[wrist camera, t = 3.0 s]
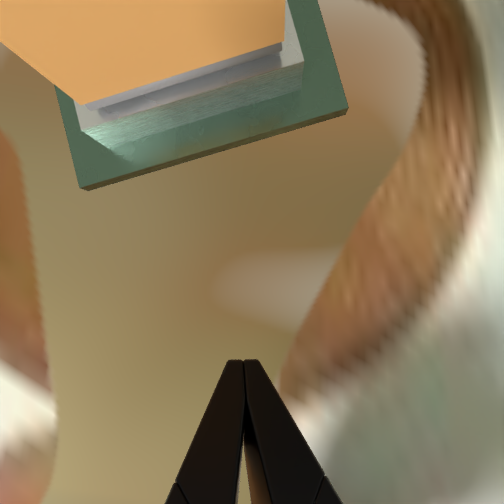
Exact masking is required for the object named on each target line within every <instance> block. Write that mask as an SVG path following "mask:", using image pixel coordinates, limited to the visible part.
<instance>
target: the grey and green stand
mask: <svg viewBox="0 0 504 504" xmlns="http://www.w3.org/2000/svg"><path fill="white" fill-rule="evenodd" d="M54 86H55V90H56V94H57V98H58V102H59V106H60V110H61V115H62V119H63V123H64V127H65V131H66V135H67V139H68V143H69V147H70V151H71V155H72V159H73V163H74V167H75V171H76V175H77V180H78V184H79V187H80V188H81V189H84V190H87V191H90V190H93V189H97V188H100V187H103V186H107V185H110V184H114V183H117V182H120V181H123V180H127V179H130V178H134V177H137V176H140V175H144V174H147V173H151V172H154V171H157V170H161V169H164V168H167V167H171V166H174V165H178V164H181V163H184V162H188V161H191V160H194V159H198V158H201V157H204V156H208V155H211V154H214V153H218V152H221V151H225V150H228V149H231V148H234V147H238V146H241V145H244V144H248V143H251V142H255V141H258V140H261V139H265V138H268V137H272V136H275V135H278V134H282V133H285V132H289V131H292V130H295V129H298V128H302V127H305V126H309V125H312V124H315V123H319V122H322V121H326V120H329V119H332V118H336V117H339V116H342V115H345V114H346V112H347V110H348V108H349V107H348V104H347V100H346V97H345V93H344V90H343V87H342V83H341V80H340V77H339V73H338V70H337V66H336V63H335V59H334V56H333V52H332V49H331V45H330V42H329V39H328V35H327V32H326V28H325V25H324V22H323V18H322V15H321V11H320V8H319V4H318V1H317V0H285V35H284V41H283V42H282V51H280V52H277V53H274V54H271V55H267V56H264V57H261V58H258V59H255V60H251V61H248V62H245V63H242V64H239V65H236V66H232V67H229V68H226V69H223V70H220V71H216V72H213V73H210V74H207V75H204V76H201V77H197V78H194V79H191V80H188V81H185V82H182V83H178V84H175V85H172V86H169V87H166V88H162V89H159V90H156V91H153V92H150V93H147V94H143V95H140V96H137V97H134V98H131V99H128V100H124V101H121V102H118V103H115V104H112V105H108V106H105V107H102V108H99V109H96V110H93V111H90V110H89V109H88V108H87V107H86V106H85V104H84V105H80V104H79V103H77V102H76V101H75V100H73V99H72V98H71V97H70V96H68V95H67V94H66V93H65V92H63V91H62V90H61V89H60V88H58V87H57V86H56V85H55V84H54Z"/></svg>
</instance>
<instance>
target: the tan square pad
mask: <svg viewBox="0 0 504 504" xmlns="http://www.w3.org/2000/svg"><path fill="white" fill-rule="evenodd" d="M284 35H285V0H0V42H2V43H3V44H4V45H5V46H7V47H8V48H9V49H10V50H12V51H13V52H14V53H15V54H17V55H18V56H19V57H21V58H22V59H23V60H24V61H26V62H27V63H28V64H30V65H31V66H32V67H33V68H35V69H36V70H37V71H38V72H39V73H41V74H42V75H43V76H45V77H46V78H47V79H48V80H50V81H51V82H52V83H53V84H55V85H56V86H57V87H58V88H60V89H61V90H62V91H63V92H65V93H66V94H67V95H68V96H70V97H71V98H72V99H73V100H75V101H76V102H77V103H79V104H80V105H84V104H85V106H86V107H87V108H88V109H89V110H90V111H93V110H96V109H99V108H102V107H105V106H108V105H112V104H115V103H118V102H121V101H124V100H128V99H131V98H134V97H137V96H140V95H143V94H147V93H150V92H153V91H156V90H159V89H162V88H166V87H169V86H172V85H175V84H178V83H182V82H185V81H188V80H191V79H194V78H197V77H201V76H204V75H207V74H210V73H213V72H216V71H220V70H223V69H226V68H229V67H232V66H236V65H239V64H242V63H245V62H248V61H251V60H255V59H258V58H261V57H264V56H267V55H271V54H274V53H277V52H280V51H282V42H283V41H284Z"/></svg>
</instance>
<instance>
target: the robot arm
mask: <svg viewBox="0 0 504 504" xmlns="http://www.w3.org/2000/svg"><path fill="white" fill-rule="evenodd" d="M243 443H244V452H245V460H246V467H247V474H248V482H249V489H250V497H251V504H343V503H342V501H341V499H340V498H339V496H338V495H337V493H336V491H335V490H334V488H333V486H332V484H331V483H330V481H329V479H328V478H327V476H324V475H325V473H324V471H323V469H322V468H321V466H320V464H319V462H318V461H317V459H316V457H315V456H314V454H313V452H312V451H311V449H310V447H309V445H308V444H307V442H306V440H305V439H304V437H303V435H302V433H301V432H300V430H299V428H298V427H297V425H296V423H295V421H294V420H293V418H292V416H291V415H290V413H289V411H288V409H287V408H286V406H285V404H284V403H283V401H282V399H281V398H280V396H279V394H278V392H277V391H276V389H275V387H274V386H273V384H272V382H271V380H270V379H269V377H268V375H267V374H266V372H265V370H264V368H263V367H262V365H261V363H260V362H259V361H258V360H256V359H246V360H244V361H242V360H228V362H227V363H226V365H225V368H224V370H223V372H222V375H221V377H220V379H219V381H218V383H217V386H216V388H215V390H214V393H213V395H212V397H211V399H210V402H209V404H208V406H207V409H206V411H205V413H204V416H203V418H202V420H201V422H200V425H199V427H198V429H197V431H196V434H195V436H194V438H193V441H192V443H191V445H190V447H189V450H188V452H187V454H186V457H185V459H184V461H183V463H182V466H181V468H180V470H179V473H178V475H177V477H176V479H175V482H176V483H174V484H173V486H172V488H171V490H170V493H169V495H168V497H167V499H166V502H165V504H238V493H239V482H240V472H241V461H242V448H243V447H242V446H243Z"/></svg>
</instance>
